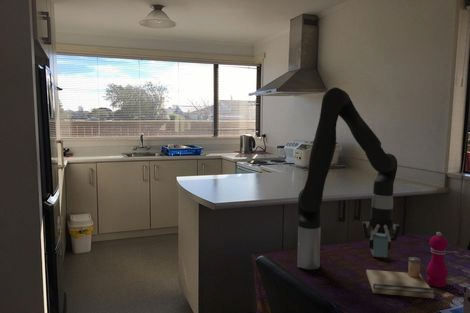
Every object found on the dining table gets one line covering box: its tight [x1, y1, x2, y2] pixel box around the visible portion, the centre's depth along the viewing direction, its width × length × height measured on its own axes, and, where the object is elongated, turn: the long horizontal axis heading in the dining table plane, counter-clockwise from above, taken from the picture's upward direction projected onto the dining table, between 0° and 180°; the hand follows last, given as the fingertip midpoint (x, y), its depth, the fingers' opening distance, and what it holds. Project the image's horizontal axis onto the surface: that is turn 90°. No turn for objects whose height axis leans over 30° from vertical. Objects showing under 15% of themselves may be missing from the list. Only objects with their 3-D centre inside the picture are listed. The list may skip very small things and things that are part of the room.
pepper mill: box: [426, 231, 449, 288], centre depth 142 cm, size 7×7×20 cm
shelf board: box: [366, 269, 436, 299], centre depth 142 cm, size 20×18×3 cm
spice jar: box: [407, 256, 421, 278], centre depth 146 cm, size 4×4×7 cm
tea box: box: [370, 232, 389, 258], centre depth 145 cm, size 5×7×7 cm
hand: (379, 249), depth 145 cm, fingers closed on tea box, 5 cm apart
